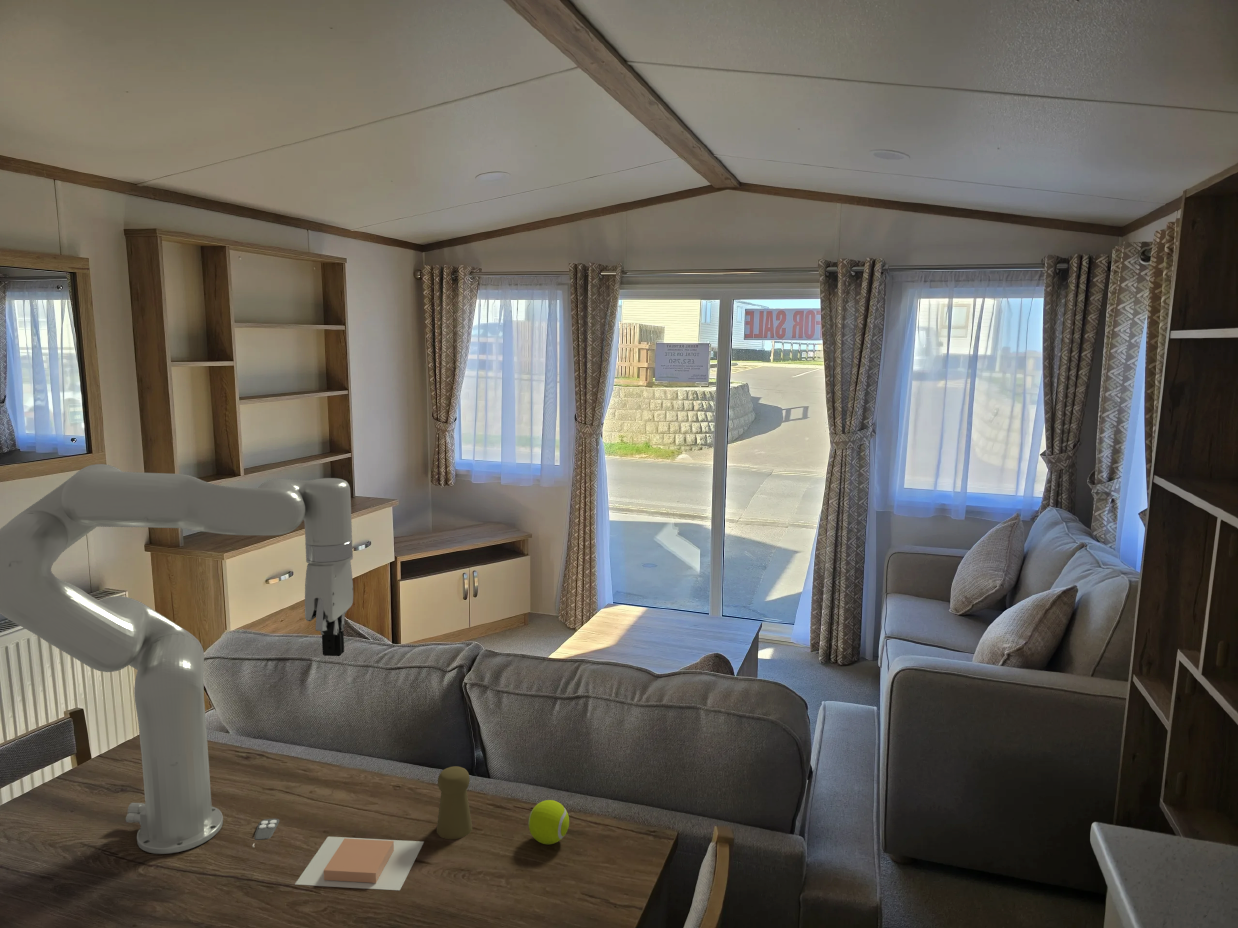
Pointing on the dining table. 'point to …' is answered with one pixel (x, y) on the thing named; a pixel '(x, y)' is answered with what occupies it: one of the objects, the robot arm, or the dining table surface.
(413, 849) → the mat
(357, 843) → the tile
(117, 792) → the dining table surface
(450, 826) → the cork
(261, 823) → the key chain
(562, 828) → the tennis ball
